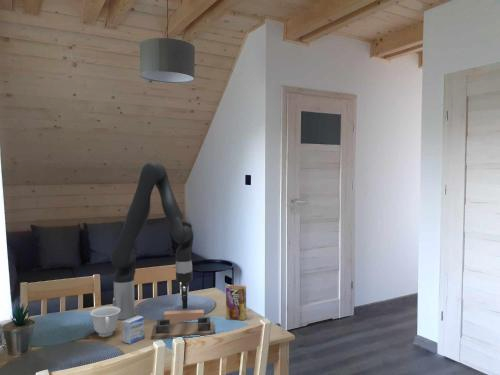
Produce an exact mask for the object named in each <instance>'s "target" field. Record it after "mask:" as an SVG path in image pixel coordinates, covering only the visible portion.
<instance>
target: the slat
mask: <svg viewBox="0 0 500 375" xmlns="http://www.w3.org/2000/svg"><path fill="white" fill-rule="evenodd" d="M201 317H205V310H204V309H191V310H190V309H189V310H187V309H183V310H167V311H166V310H165V311H164V312H163V319H170V324H179V323H178V322H184V321H192V320H198V318H201Z"/></svg>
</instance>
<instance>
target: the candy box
mask: <svg viewBox="0 0 500 375" xmlns="http://www.w3.org/2000/svg"><path fill="white" fill-rule="evenodd" d="M225 304H226V305H225V310H226V311H225V312H226V315H225V317H226V320H234V321H235V320H238V321H245V320H246V318H247V285H244V284H243V285H241V284H227V285H226V286H225Z"/></svg>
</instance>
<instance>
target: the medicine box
mask: <svg viewBox="0 0 500 375" xmlns="http://www.w3.org/2000/svg"><path fill="white" fill-rule="evenodd" d="M121 326H122V342H123V343H124V344H125V343H126V344H129V345H132V344H135V343H136V342H138V341H140V340H142V339H144V338H145V337H146V336H145V317H144V316H141V315H135V316H134V317H132V318H129V319H124V320H122V325H121Z"/></svg>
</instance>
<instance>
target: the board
mask: <svg viewBox="0 0 500 375" xmlns="http://www.w3.org/2000/svg"><path fill="white" fill-rule="evenodd" d="M212 334H215V335H216V330H215V324H214V321H211V317H210V316H204V317H201V318H198V322H188V323H170V319H164V318H163V319H157V320H156V324H154V325H153V327H152V331H151V334H150V339H151V340H167V339H166V338H170V339H174V338H173V337H182V336H184V337H185V336H190V335H200V336H204V335H212ZM204 337H205V336H204Z"/></svg>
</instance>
